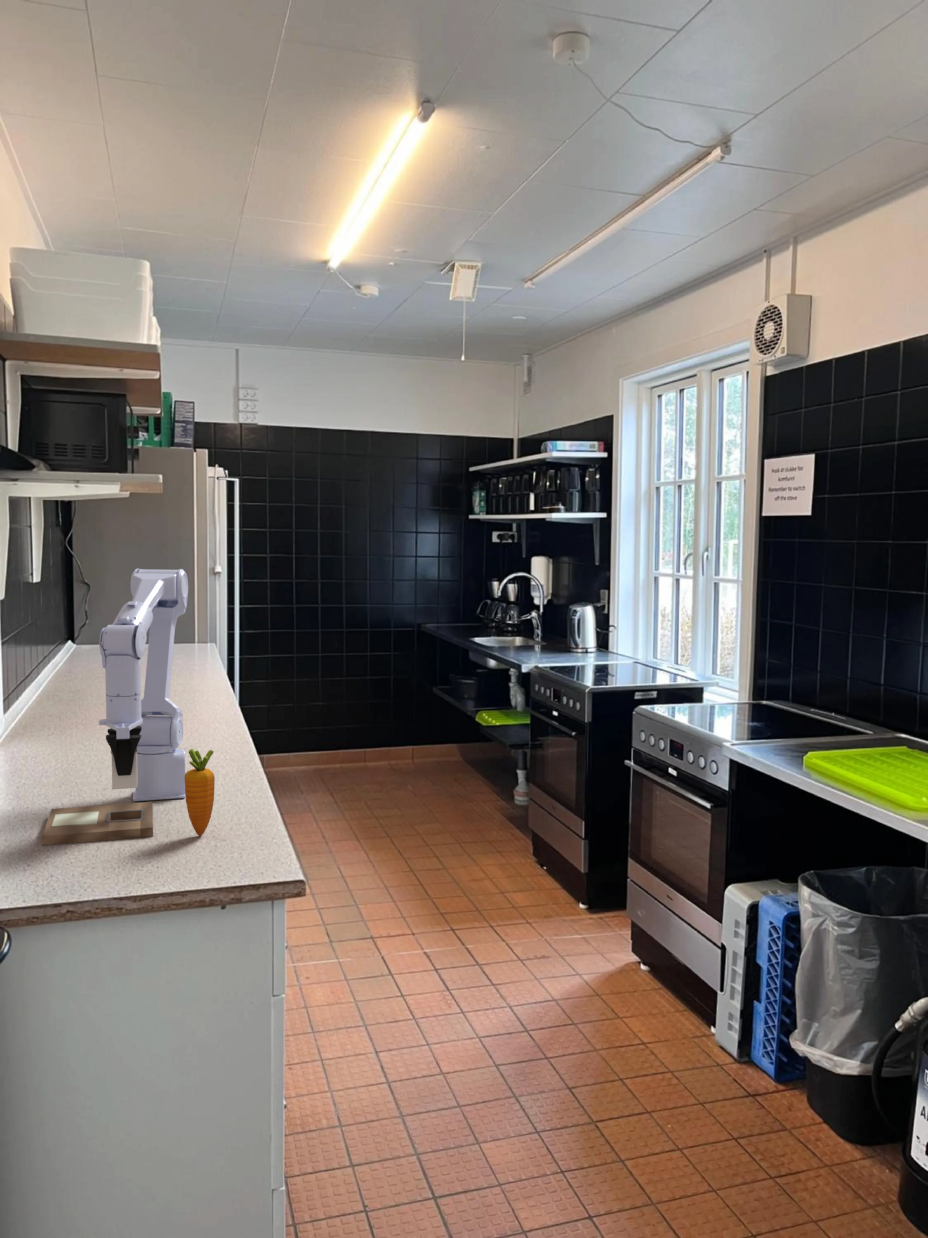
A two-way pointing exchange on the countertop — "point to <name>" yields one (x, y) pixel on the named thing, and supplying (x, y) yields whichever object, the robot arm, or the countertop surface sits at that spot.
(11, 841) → the countertop surface
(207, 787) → the carrot
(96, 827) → the brown board with panel
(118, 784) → the plug
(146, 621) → the robot arm
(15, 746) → the countertop surface
